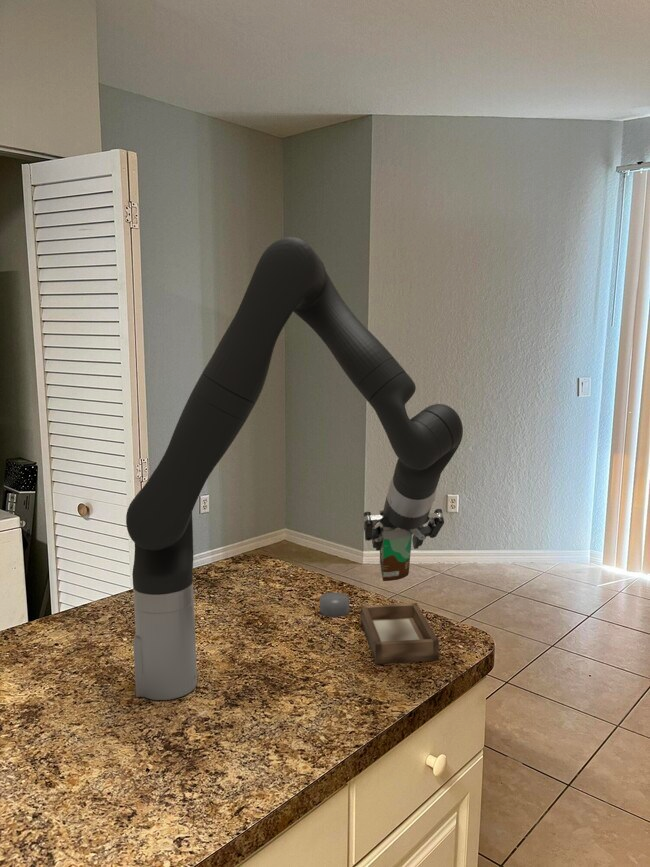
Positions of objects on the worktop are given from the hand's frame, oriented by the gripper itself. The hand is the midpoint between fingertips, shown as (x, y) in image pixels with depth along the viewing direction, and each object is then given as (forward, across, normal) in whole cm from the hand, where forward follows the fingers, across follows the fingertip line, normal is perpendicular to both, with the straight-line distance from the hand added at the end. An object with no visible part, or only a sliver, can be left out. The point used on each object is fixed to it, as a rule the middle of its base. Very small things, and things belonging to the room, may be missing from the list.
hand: (396, 544), depth 126 cm
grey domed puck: (+22, +10, +3) cm, 24 cm away
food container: (+2, 0, +4) cm, 5 cm away
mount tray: (+11, 0, +14) cm, 18 cm away
